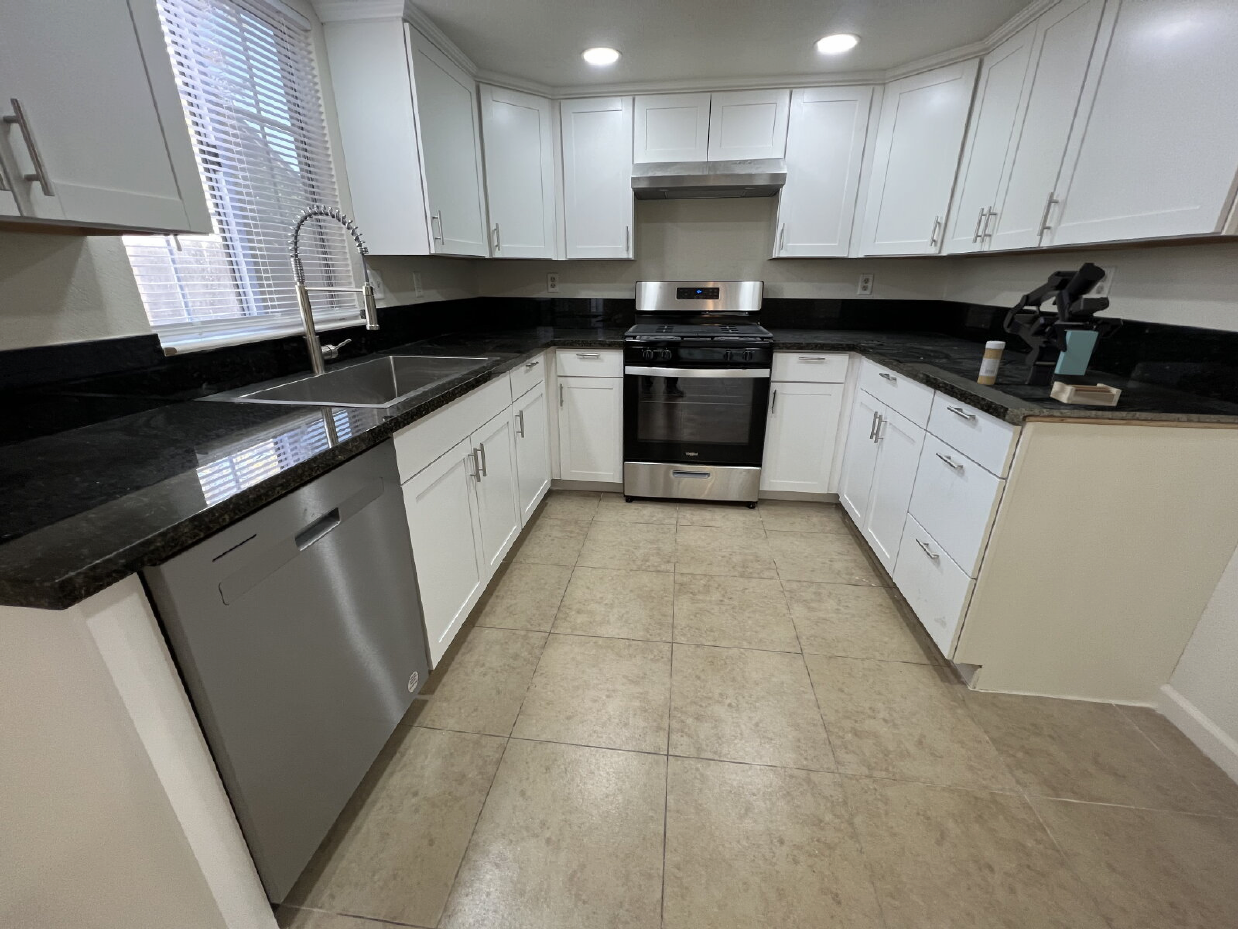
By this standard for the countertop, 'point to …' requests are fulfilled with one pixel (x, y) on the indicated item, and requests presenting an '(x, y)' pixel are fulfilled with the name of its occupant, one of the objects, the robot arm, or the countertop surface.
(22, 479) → the countertop surface
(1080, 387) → the offcut stack
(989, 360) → the sprinkles bottle
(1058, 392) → the board rack
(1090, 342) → the tall sheet
